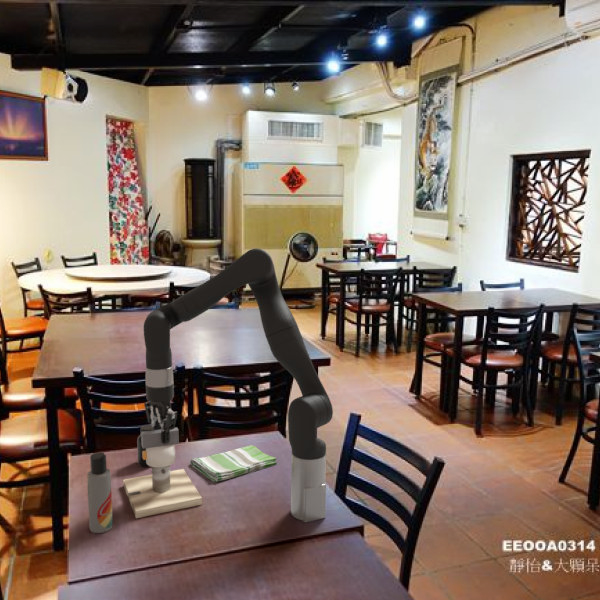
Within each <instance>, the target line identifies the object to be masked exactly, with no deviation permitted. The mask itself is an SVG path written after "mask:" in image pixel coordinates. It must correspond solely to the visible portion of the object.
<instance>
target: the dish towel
mask: <svg viewBox="0 0 600 600" xmlns="http://www.w3.org/2000/svg"><path fill="white" fill-rule="evenodd" d="M276 460H277V458H276V457H275V456H270V455H269V454H267V453H264V452H262V450H260V449H259V448H258V447H257V446H255V445H251V444H250V445H246V446H243V447H239V448H234V449H231V450H229V451H225V452H220V453H216V454H211V455H209V456H203V457H193V458H192V459H190V462H189V463H190V466H191V465H192V466H191V467H192V468H194V469H195V470H197V471H198V472H199V473H201V474H202V475H203V476H205V477H207V479H208V480H210V481H212V482H213V483H214V484H215V483H218V482H219V483H220V482H221V481H226V480H229V479H233V478H236V477H240V476H243V475H246V474H249V473H253V471H254V472H256V471H260V470H263V469H267V468H270V467H274V466H277V463H278V462H276Z"/></svg>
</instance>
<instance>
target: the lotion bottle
mask: <svg viewBox="0 0 600 600" xmlns="http://www.w3.org/2000/svg"><path fill="white" fill-rule="evenodd" d="M89 459H90V460H89V462H90V470H89V471H88V472H87V475H86V482H87V485H86V486H87V502H88V503H87V505H88V506H87V507H88V508H87V509H88V525H89V530H90V531H91V533H93V534H102V533H106V532H108V531H110V530H111V529H112V528H113V497H112V474H111V473H112V472H111V470H110V469H109V468H108V467H107V455H106V454H105V452H103V451H98V452H95V453H92V454H91V455H90V458H89Z"/></svg>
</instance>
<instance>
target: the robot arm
mask: <svg viewBox="0 0 600 600" xmlns="http://www.w3.org/2000/svg"><path fill="white" fill-rule="evenodd" d="M247 284H248V286H249V288H250V291H251V293H252V295H253V297H254V299H255V301H256V303H257V307H258V311H259V314H260V315H259V316H260V320H261V325H262V328H263V331H264V332H263V333H264V335H265V338H266V341H267V343H268V346H269V348H270V352H271V354H272V355H273V357H274V358H275V360H276V361H277V362H278V363H279V364H280V365H281V366H282V367H283V368H284V369H285V370H286V371H287V372H289V374H290V375H291V376H292V377H293V379H294V380H295V381H296V384H297V386H298V387H299V390H300V393H301V395H302V396H299V397H296V398H294V399H292V401H291V402H290V404H289V407H288V411H287V423H288V425H287V426H288V427H287V428H288V430H287V431H288V441H289V445H290V447H291V464H290V465H291V470H290V471H291V473H290V475H291V479H290V514H291V516H292V517H293V518H295V519H297V520H300V521H302V522H304V523H308V522H313V521H317V520H323V519H325V518H326V508H327V507H326V503H327V485H326V467H327V466H326V465H327V464H326V461H327V444H326V443H325V441H324V440H322V439H320V438H318V437H317V429H319V428H320V427H323V426H325V425H327V424H329V423H330V422H331V420H332V419H333V414H334V410H333V409H334V408H333V405H332V402H331V399H330V397H329V395H328V393H327V391H326V388H325V387H324V385H323V383H322V381H321V379H320V377H319V375H318V373H317V371H316V368H315V366H314V364H313V362H312V360H311V357H310V354H309V353H308V350H307V347H306V344H305V342H304V339H303V336H302V334H301V330H300V328H299V326H298V323H297V322H296V319H295V317H294V315H293V313H292V311H291V309H290V308H289V306H288V304H287V302H286V301H285V299H284V296H283V294H282V291H281V288H280V285H279V281H278V277H277V275H276V268H275V265H274V262H273V259H272V257H271V255H270V254H269V252H267V251H266V250H265V249H262V248H258V247H257V248H252V249H249V250H247V251H245V253H243V254H242V255H241V256H239V257H238V258H237V259H236V260H235V261H234V262H233V263H231V264H230V265H229V266H227V267H225V269H223V270H222V271H220V272H219V273H217V274H216V275H214V276H212V277H211V278H209V280H206V281H205V282H203V283H202V284H199V285H198V286H196V287H195V288H193V289H191V290H189V291H188V292H186V293H184V294H182V295H181V296H178V297H177V298H176V299H174V300H173V301H171V302H168V303H165V304H164V305H162V306H160V307H158V308H155V309H154V310H153V311H150V313H148V315H146V317H145V319H144V322H143V338H144V345H145V346H144V347H145V397H146V400H147V401H146V402H144V410H145V414H146V419H147V423H148V424H150V425H152V427H153V430H160V429H161V440H162V443H163V444H166V443H169V441H170V430H172V429H174V428H175V426H176V424H177V423H176V422H177V419H178V411H176V410H175V411H173V410H172V405H171V401H172V400H173V398H174V397H175V389H174V370H173V356H172V355H173V354H172V350H171V349H172V348H171V347H170V346H171V330H172V329H174V328H175V327H177V326H178V325H180V324H182V323H186V322H189V321H192V320H193V319H195V318H197V317H198V316H200V315H202V314H203V313H205V312H207V311H208V310H210V309H212V308H213V307H214V306H215V305H216V304H218V303H219V302H220V301H221V300H222V299H223V298H225V297H227V295H229V294H231V293H232V292H234V291H235V290H237V289H238V288H240V287H242V286H245V285H247Z"/></svg>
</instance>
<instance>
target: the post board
mask: <svg viewBox="0 0 600 600" xmlns="http://www.w3.org/2000/svg"><path fill="white" fill-rule="evenodd" d="M122 481H123V488H124V491H125V493H126V496H127V498H128V500H129V501H128V502H129V504H130V507H131V510H132V511H133V514H134V517H135V519H138V518H139V519H140V518H145V517H148V516H149V517H150V516H154V515H158V514H163V513H169V512H173V511H176V510H178V511H179V510H183V509H187V508H191V507H196V506H201V505H203V497H202V496H201V494H200V492H199V491H198V489H197V488H196V486H195V485H194V484H193V483H194V482H193V481H192V480H191V478H190V477H189V475H188V474H187V472H186V471H185V468H181V469H175V470H174V469H173V470H171V465H169V466H165V467H151V474H148V475H146V474H145V475H143V476H135V477H131V478H126V479H123V480H122Z"/></svg>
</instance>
